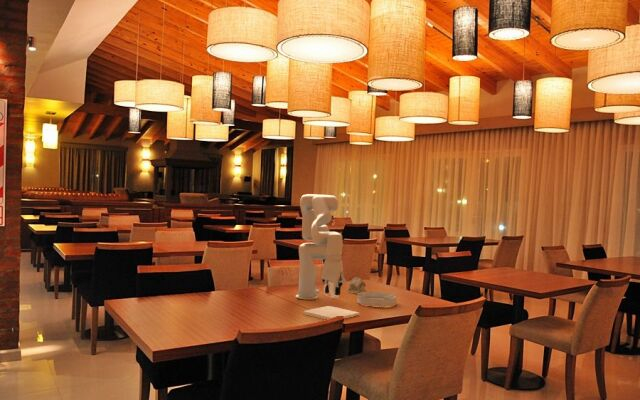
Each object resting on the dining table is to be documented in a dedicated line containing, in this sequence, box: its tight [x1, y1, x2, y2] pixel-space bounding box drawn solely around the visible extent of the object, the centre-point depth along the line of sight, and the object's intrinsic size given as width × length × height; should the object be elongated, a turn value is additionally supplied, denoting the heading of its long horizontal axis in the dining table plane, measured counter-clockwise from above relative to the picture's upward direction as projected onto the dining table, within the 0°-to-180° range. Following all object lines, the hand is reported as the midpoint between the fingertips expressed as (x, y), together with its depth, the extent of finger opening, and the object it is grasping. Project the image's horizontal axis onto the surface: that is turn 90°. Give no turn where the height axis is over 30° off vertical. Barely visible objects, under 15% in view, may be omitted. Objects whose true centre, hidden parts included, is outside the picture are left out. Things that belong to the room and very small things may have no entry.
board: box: [302, 305, 360, 321], centre depth 261 cm, size 20×20×2 cm
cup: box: [323, 281, 340, 299], centre depth 261 cm, size 7×10×8 cm
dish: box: [356, 291, 397, 307], centre depth 294 cm, size 22×22×5 cm
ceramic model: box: [347, 276, 368, 293], centre depth 325 cm, size 14×11×10 cm
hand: (332, 293), depth 261 cm, fingers closed on cup, 6 cm apart
